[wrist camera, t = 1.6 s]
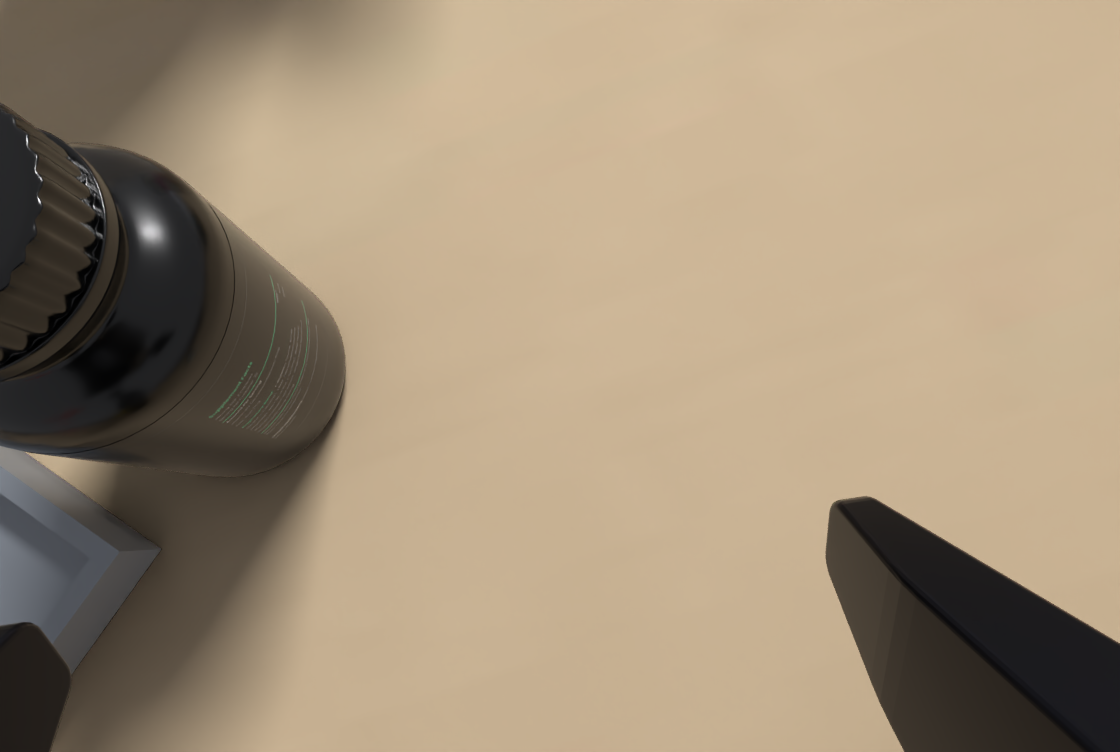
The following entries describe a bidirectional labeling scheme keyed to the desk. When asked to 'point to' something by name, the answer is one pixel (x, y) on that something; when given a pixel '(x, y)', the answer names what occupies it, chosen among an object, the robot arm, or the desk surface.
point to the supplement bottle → (148, 319)
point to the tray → (62, 557)
